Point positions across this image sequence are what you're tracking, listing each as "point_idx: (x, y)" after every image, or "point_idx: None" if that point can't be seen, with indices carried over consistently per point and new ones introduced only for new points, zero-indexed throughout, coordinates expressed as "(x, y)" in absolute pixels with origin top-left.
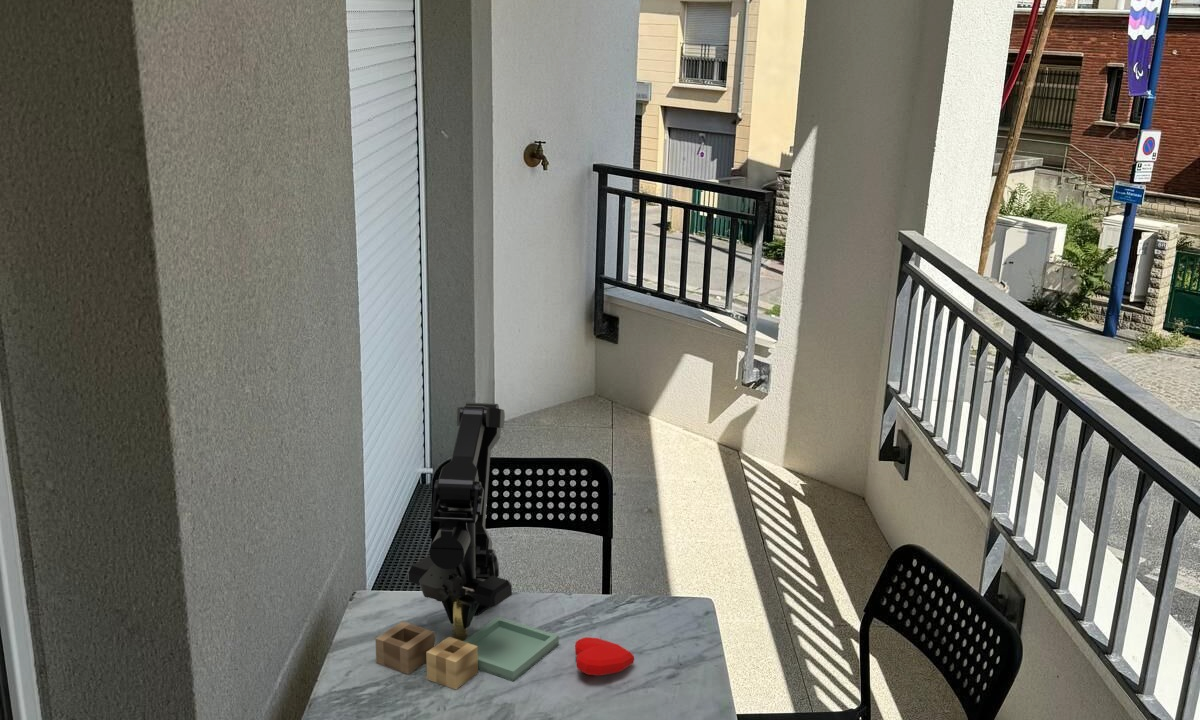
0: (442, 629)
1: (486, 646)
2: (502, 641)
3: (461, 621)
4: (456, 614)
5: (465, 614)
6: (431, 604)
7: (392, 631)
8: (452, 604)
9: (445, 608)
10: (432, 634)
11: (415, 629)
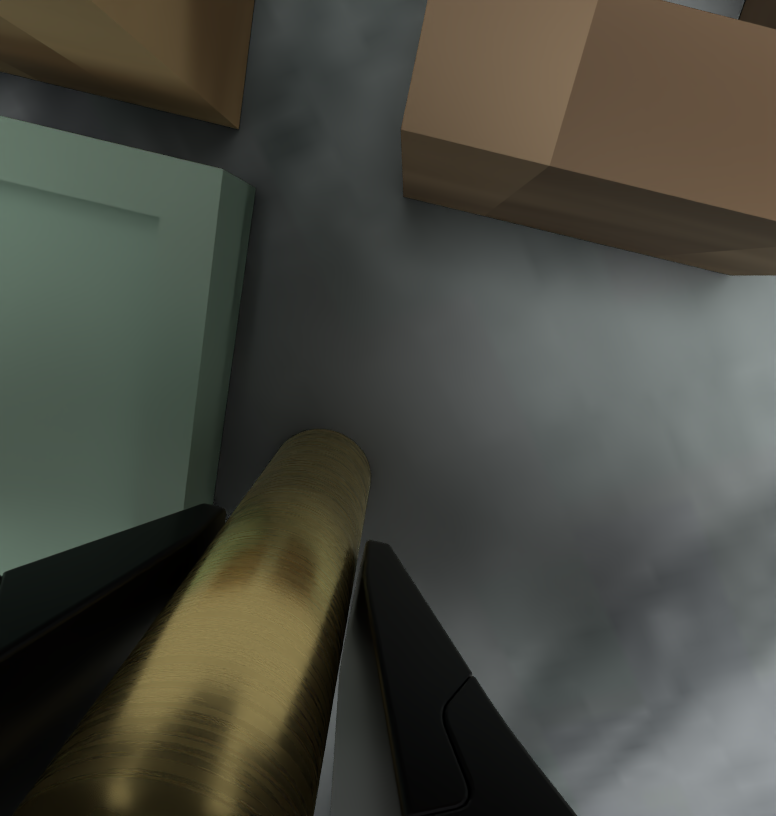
0: (509, 575)
1: (77, 435)
2: (15, 530)
3: (217, 536)
4: (242, 581)
5: (50, 578)
6: (696, 812)
7: None
8: (359, 760)
9: (443, 657)
10: (412, 88)
11: (723, 90)
